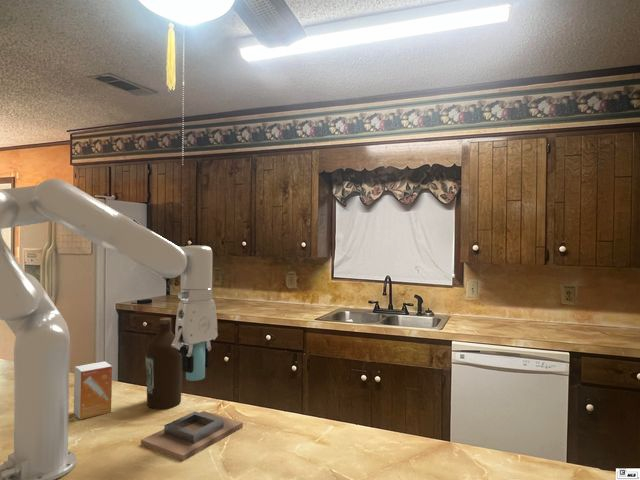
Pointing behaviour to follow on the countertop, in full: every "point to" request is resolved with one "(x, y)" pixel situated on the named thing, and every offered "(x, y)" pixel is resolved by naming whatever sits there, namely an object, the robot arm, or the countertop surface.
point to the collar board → (191, 434)
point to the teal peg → (197, 362)
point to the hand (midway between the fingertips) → (195, 368)
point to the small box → (92, 389)
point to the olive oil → (163, 369)
